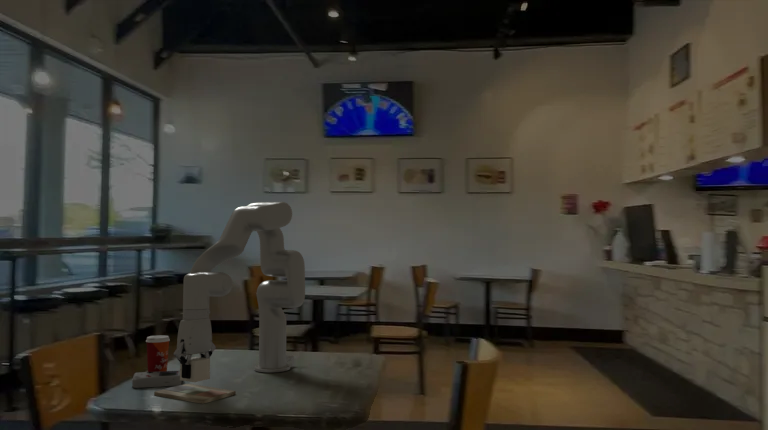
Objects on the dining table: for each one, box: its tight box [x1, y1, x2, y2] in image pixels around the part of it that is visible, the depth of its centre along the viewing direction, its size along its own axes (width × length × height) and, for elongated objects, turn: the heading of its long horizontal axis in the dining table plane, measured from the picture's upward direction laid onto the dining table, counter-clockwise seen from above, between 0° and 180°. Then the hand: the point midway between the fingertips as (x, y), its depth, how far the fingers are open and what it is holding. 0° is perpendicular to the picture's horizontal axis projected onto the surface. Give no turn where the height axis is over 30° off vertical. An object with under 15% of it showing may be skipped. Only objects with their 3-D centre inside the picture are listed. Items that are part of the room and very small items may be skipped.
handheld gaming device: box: [131, 370, 183, 389], centre depth 204 cm, size 9×15×4 cm, turn 105°
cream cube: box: [179, 356, 211, 383], centre depth 189 cm, size 6×6×6 cm
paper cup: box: [145, 334, 171, 372], centre depth 211 cm, size 8×8×14 cm
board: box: [153, 383, 237, 405], centre depth 189 cm, size 13×20×1 cm, turn 60°
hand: (194, 375), depth 189 cm, fingers closed on cream cube, 6 cm apart
